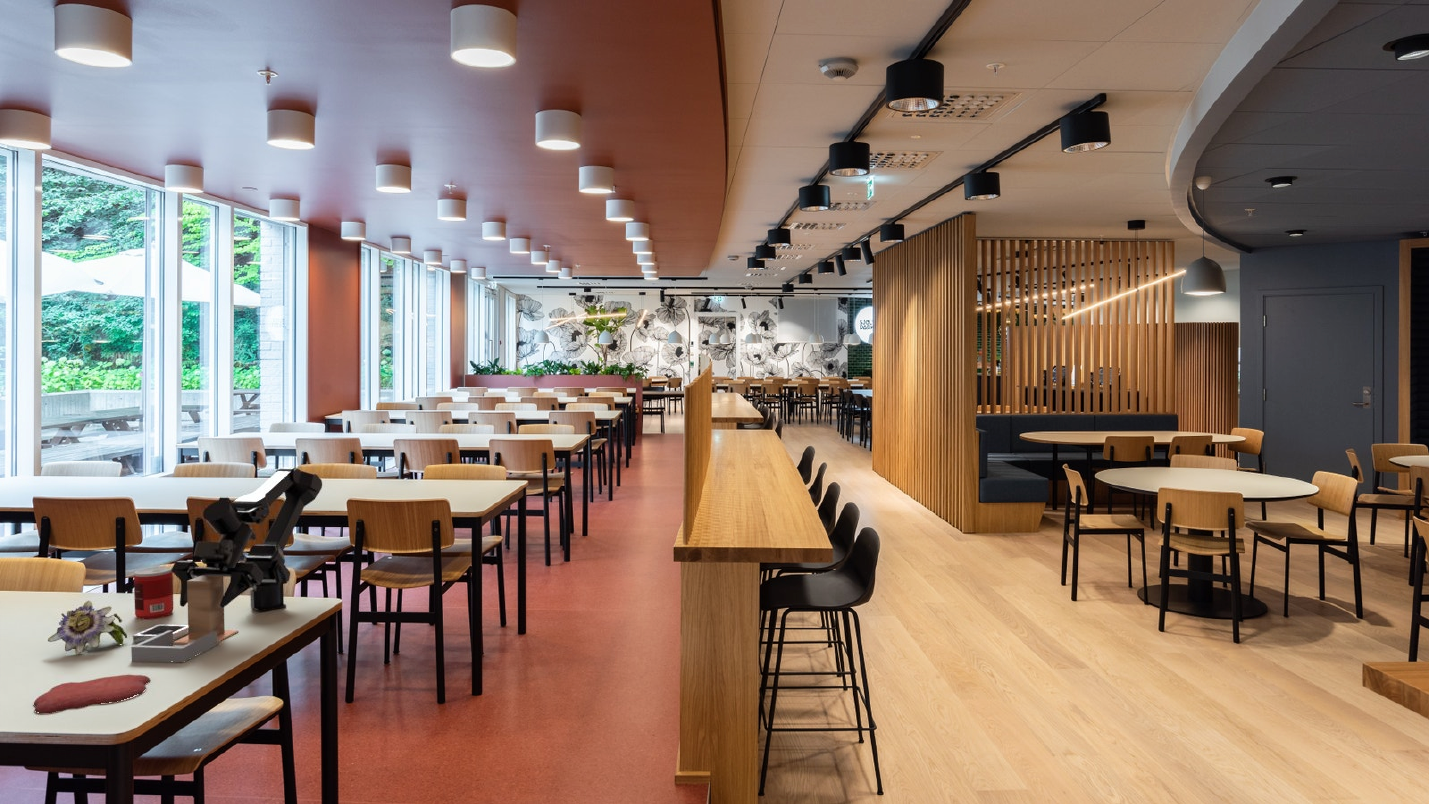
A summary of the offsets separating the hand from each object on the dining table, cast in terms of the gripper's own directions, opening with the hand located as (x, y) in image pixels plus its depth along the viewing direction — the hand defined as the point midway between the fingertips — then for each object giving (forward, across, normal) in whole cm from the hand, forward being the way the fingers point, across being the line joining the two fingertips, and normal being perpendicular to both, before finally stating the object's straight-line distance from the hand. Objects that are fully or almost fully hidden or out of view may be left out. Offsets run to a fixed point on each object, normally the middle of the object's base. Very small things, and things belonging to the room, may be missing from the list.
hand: (201, 606), depth 192 cm
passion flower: (+10, -21, +1) cm, 23 cm away
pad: (+4, 0, +6) cm, 8 cm away
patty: (+28, 0, -16) cm, 32 cm away
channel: (+11, 0, 0) cm, 11 cm away
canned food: (-6, -24, +18) cm, 30 cm away
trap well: (+4, -10, +6) cm, 13 cm away
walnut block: (+4, 0, +6) cm, 7 cm away
